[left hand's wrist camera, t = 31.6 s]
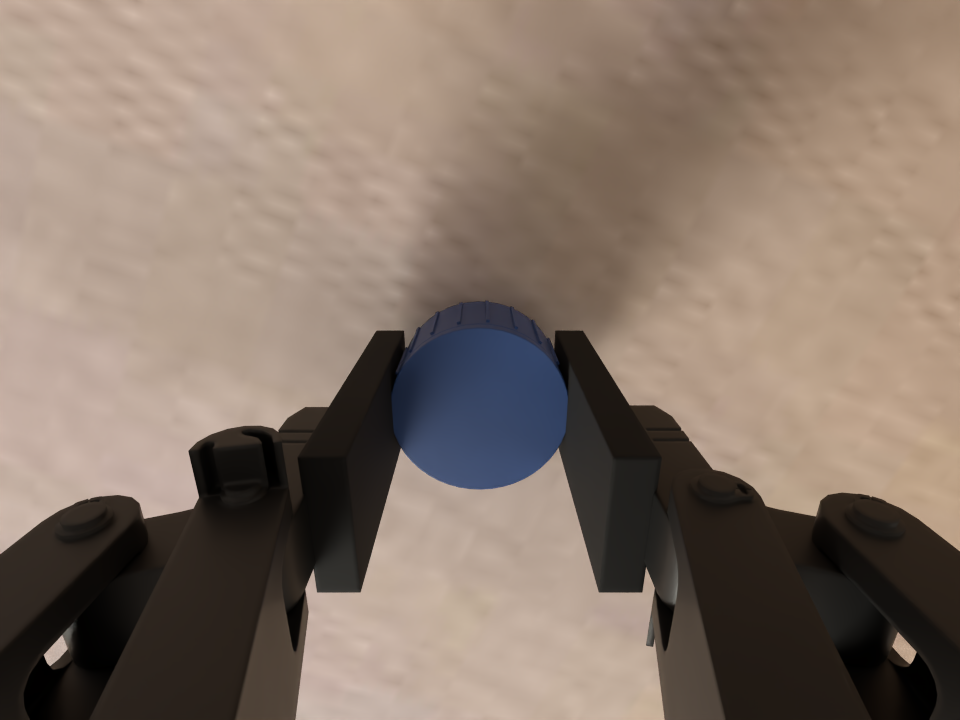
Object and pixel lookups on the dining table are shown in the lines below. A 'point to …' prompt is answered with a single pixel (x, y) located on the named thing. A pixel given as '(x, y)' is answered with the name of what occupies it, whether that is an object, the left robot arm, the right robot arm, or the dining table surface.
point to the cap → (479, 397)
